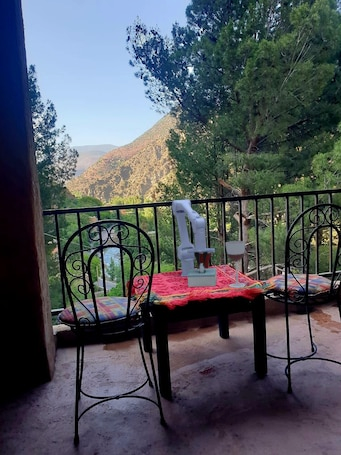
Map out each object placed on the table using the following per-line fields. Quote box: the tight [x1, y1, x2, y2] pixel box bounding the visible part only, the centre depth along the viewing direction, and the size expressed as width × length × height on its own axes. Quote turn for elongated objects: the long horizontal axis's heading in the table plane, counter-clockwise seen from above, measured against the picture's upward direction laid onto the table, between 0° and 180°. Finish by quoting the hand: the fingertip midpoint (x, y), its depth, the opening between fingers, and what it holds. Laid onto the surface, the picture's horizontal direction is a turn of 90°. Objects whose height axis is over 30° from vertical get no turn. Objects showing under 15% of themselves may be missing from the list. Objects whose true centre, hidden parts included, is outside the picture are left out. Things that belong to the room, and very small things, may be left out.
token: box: [200, 263, 204, 273], centre depth 190 cm, size 5×2×5 cm, turn 170°
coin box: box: [186, 267, 218, 288], centre depth 191 cm, size 14×14×6 cm
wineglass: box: [225, 240, 246, 289], centre depth 180 cm, size 9×10×22 cm
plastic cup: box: [195, 251, 212, 269], centre depth 220 cm, size 11×11×12 cm
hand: (201, 266), depth 190 cm, fingers closed on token, 2 cm apart
